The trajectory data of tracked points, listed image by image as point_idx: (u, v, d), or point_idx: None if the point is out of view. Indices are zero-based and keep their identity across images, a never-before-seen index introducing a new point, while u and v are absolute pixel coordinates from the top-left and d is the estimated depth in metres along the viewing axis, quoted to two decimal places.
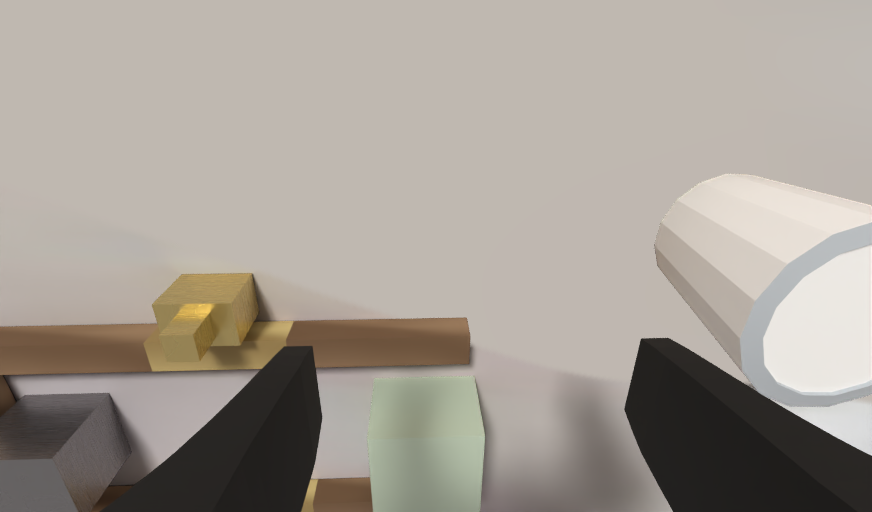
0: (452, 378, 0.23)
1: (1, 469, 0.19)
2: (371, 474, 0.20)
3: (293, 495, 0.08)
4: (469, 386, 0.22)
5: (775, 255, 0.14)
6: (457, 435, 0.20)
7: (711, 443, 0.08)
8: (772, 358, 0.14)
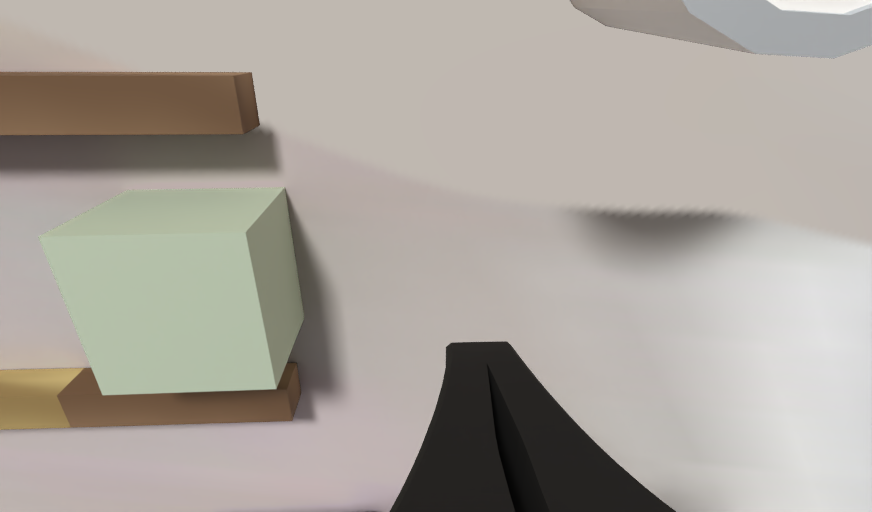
0: (248, 189, 0.15)
1: None
2: (70, 310, 0.12)
3: None
4: (267, 194, 0.14)
5: None
6: (198, 232, 0.11)
7: (505, 449, 0.08)
8: None
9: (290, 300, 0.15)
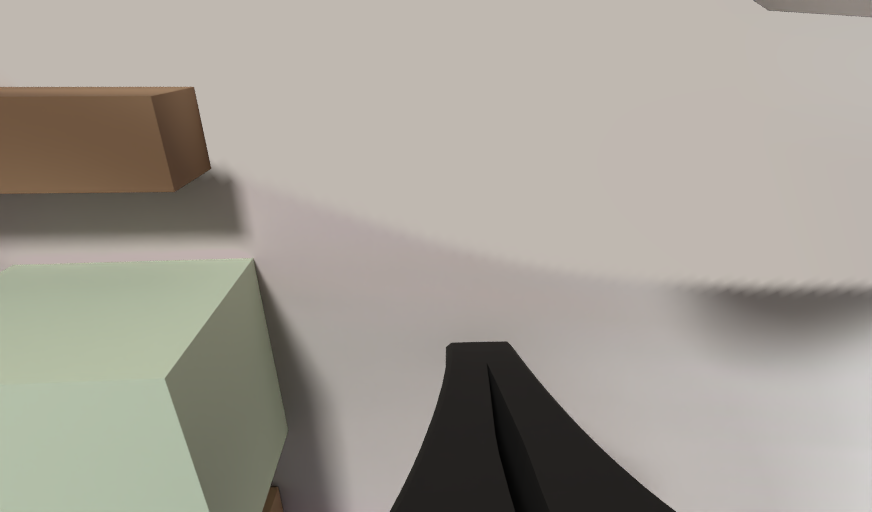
0: (197, 262, 0.10)
1: None
2: None
3: None
4: (224, 275, 0.09)
5: None
6: (79, 378, 0.06)
7: (505, 450, 0.08)
8: None
9: (262, 425, 0.10)
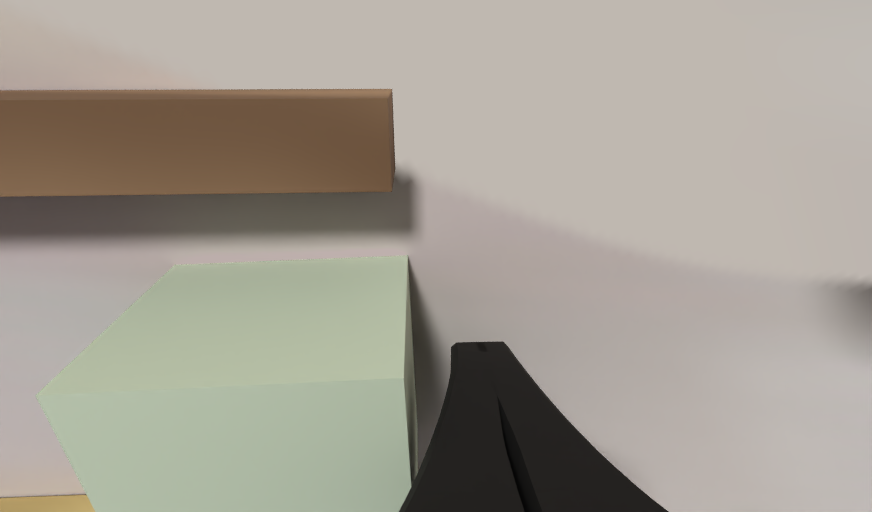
0: (354, 263, 0.10)
1: None
2: (93, 499, 0.07)
3: None
4: (391, 274, 0.09)
5: None
6: (319, 379, 0.06)
7: None
8: None
9: (414, 424, 0.10)
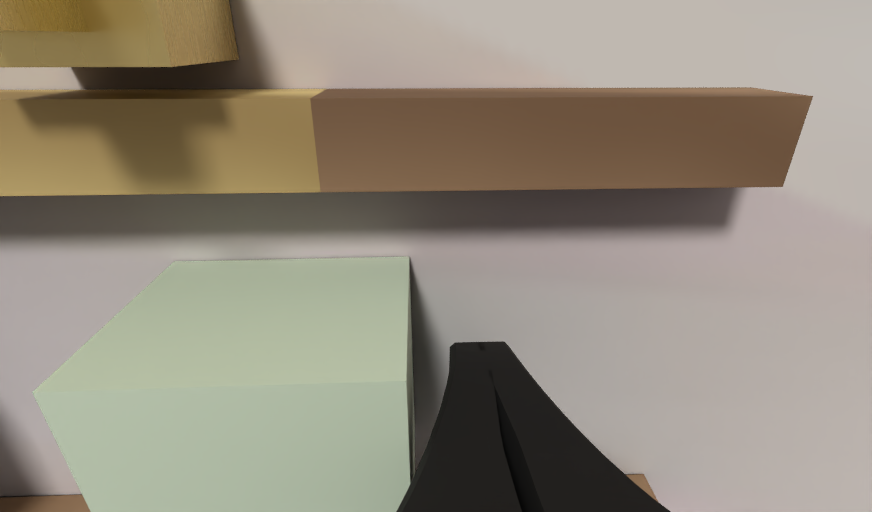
0: (356, 263, 0.10)
1: None
2: (88, 498, 0.07)
3: None
4: (392, 276, 0.09)
5: None
6: (320, 380, 0.06)
7: None
8: None
9: None
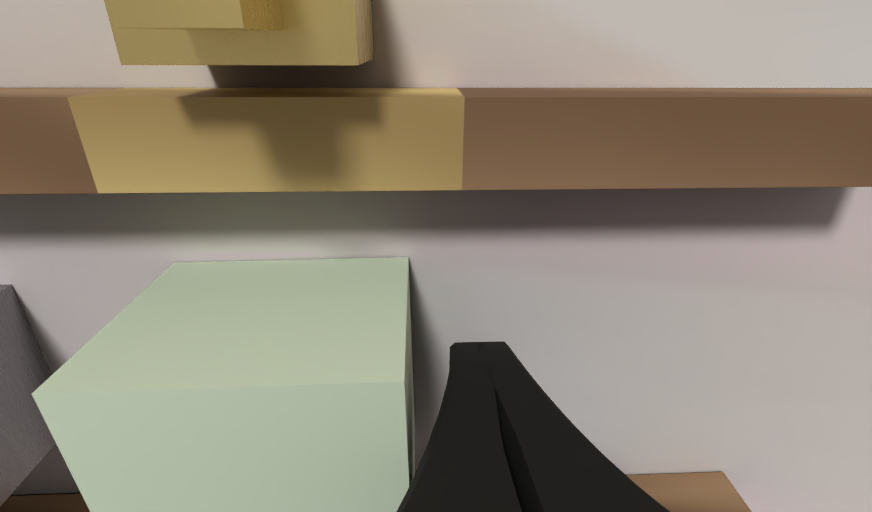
0: (355, 264, 0.10)
1: None
2: (88, 499, 0.07)
3: None
4: (391, 276, 0.09)
5: None
6: (318, 381, 0.06)
7: None
8: None
9: None
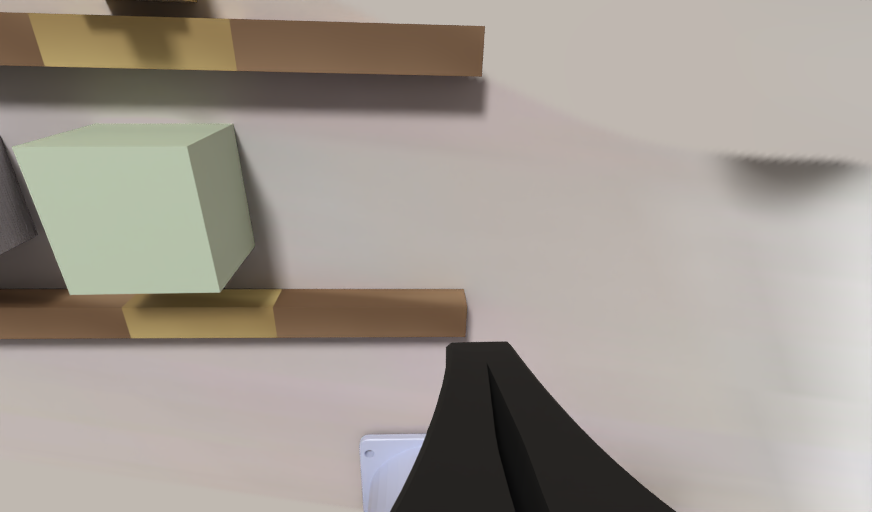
0: (200, 124, 0.17)
1: None
2: (40, 214, 0.14)
3: None
4: (216, 127, 0.16)
5: None
6: (147, 146, 0.14)
7: (505, 450, 0.08)
8: None
9: (237, 223, 0.17)
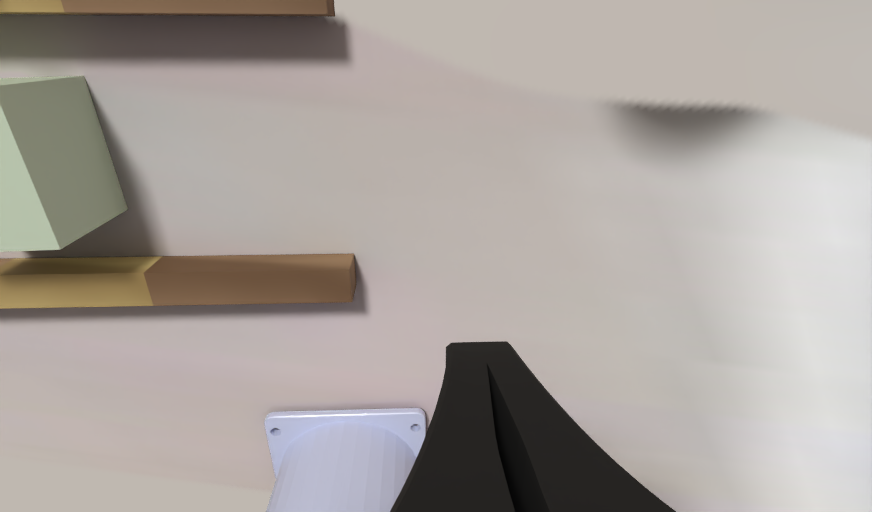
0: None
1: None
2: None
3: None
4: (59, 77, 0.16)
5: None
6: None
7: (505, 449, 0.08)
8: None
9: (94, 181, 0.17)
